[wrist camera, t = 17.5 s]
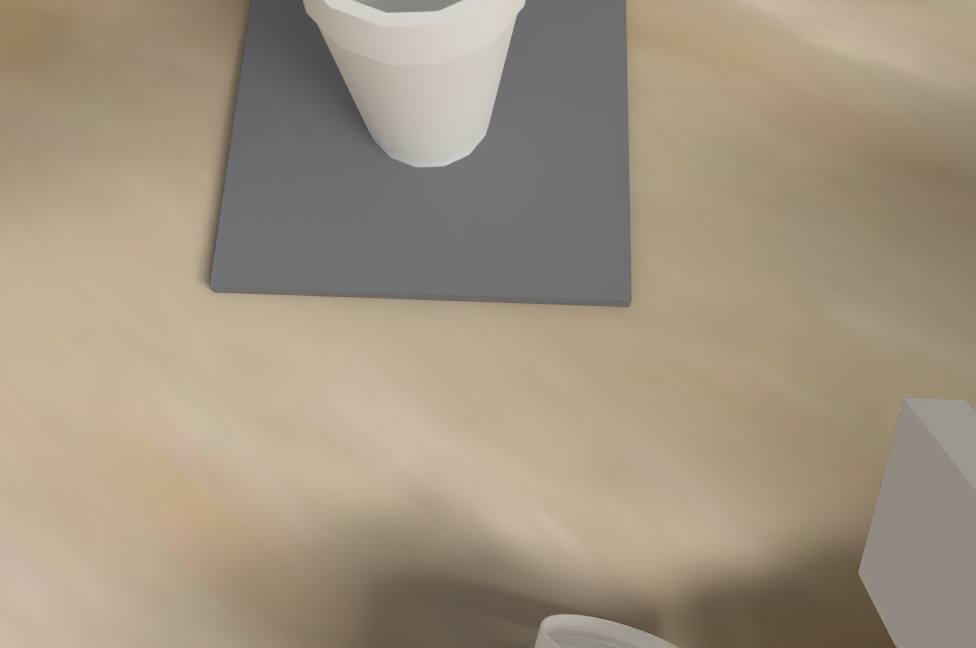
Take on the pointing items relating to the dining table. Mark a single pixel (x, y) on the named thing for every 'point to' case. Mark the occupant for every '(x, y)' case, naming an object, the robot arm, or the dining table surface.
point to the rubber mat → (433, 174)
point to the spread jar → (593, 634)
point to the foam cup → (420, 69)
